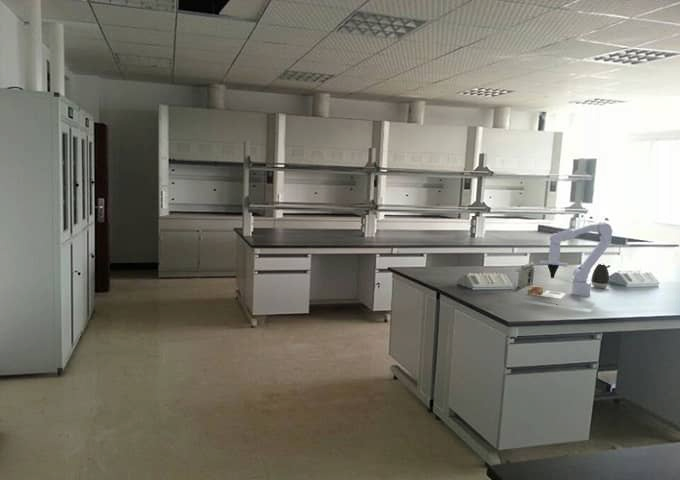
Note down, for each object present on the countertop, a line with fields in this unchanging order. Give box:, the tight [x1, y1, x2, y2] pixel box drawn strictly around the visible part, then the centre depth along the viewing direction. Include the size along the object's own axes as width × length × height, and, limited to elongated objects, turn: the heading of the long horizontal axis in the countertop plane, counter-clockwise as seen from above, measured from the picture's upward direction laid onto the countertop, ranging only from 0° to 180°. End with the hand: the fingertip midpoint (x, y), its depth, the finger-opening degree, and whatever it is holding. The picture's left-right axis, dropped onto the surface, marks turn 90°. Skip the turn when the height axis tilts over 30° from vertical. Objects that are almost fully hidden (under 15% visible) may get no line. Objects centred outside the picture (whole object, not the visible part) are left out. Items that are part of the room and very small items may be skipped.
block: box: [531, 285, 544, 296], centre depth 297 cm, size 5×5×4 cm
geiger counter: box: [515, 261, 535, 289], centre depth 328 cm, size 14×6×25 cm
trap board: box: [526, 287, 567, 300], centre depth 298 cm, size 18×18×4 cm
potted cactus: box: [590, 263, 611, 290], centre depth 329 cm, size 10×10×15 cm
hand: (552, 278), depth 303 cm, fingers closed
